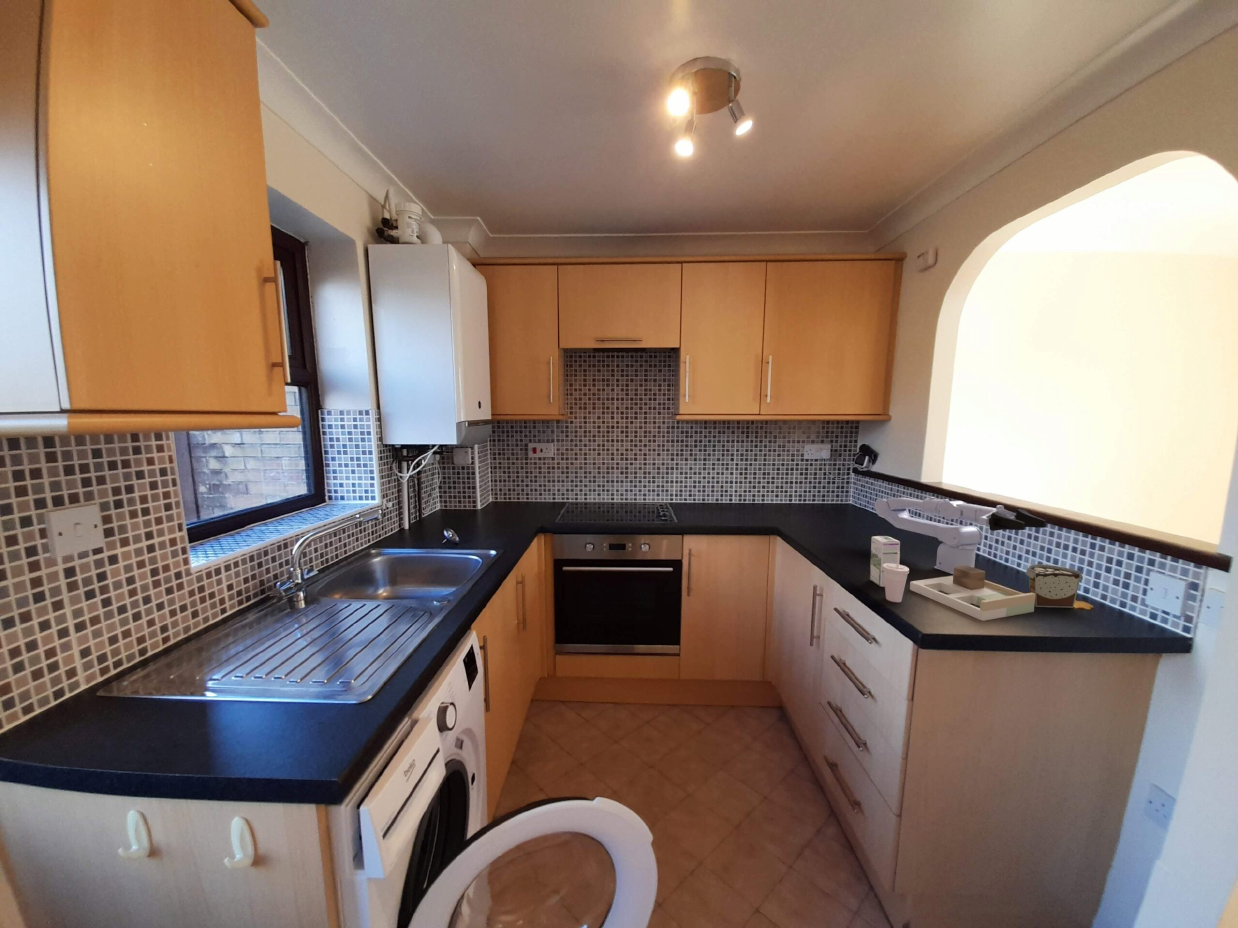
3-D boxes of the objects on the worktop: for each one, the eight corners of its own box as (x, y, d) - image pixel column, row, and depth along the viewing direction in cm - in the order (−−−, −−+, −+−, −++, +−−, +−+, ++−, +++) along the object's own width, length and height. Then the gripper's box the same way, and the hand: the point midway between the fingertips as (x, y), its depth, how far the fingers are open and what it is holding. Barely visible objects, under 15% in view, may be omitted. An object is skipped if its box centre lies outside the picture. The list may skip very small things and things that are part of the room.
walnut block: (952, 583, 122) (953, 567, 121) (965, 581, 123) (966, 565, 123) (970, 590, 117) (972, 573, 117) (983, 588, 118) (985, 571, 118)
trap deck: (909, 589, 124) (910, 573, 124) (955, 582, 128) (957, 567, 128) (982, 620, 105) (984, 602, 104) (1033, 611, 109) (1035, 593, 109)
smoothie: (911, 605, 114) (915, 556, 112) (886, 603, 115) (889, 555, 114) (900, 595, 120) (903, 548, 119) (876, 593, 121) (879, 548, 120)
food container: (1057, 597, 117) (1061, 564, 116) (1079, 607, 111) (1083, 572, 110) (1010, 596, 118) (1013, 563, 117) (1029, 606, 112) (1033, 571, 111)
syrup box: (898, 586, 126) (901, 541, 124) (879, 587, 126) (882, 541, 125) (887, 579, 132) (889, 535, 130) (868, 579, 132) (870, 535, 130)
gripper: (964, 504, 127) (1014, 513, 113) (1001, 501, 130) (1055, 509, 116) (963, 526, 127) (1013, 538, 114) (1000, 522, 130) (1053, 533, 117)
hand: (1034, 525), depth 115 cm, fingers open, 7 cm apart
